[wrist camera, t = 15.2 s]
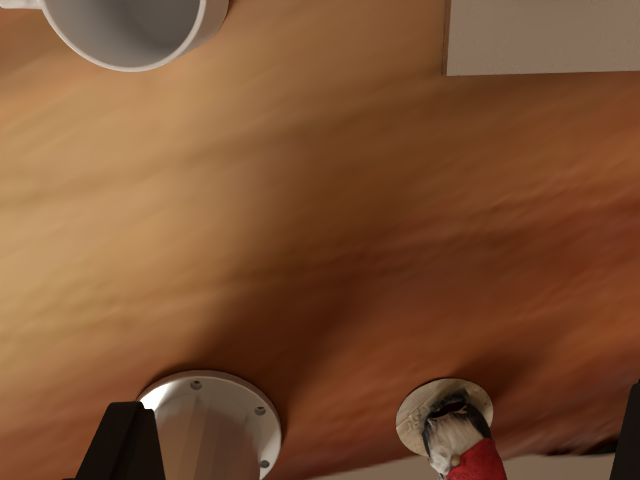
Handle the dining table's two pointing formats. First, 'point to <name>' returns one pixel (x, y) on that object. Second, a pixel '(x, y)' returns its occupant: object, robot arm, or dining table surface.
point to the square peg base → (540, 36)
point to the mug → (131, 28)
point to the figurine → (451, 430)
